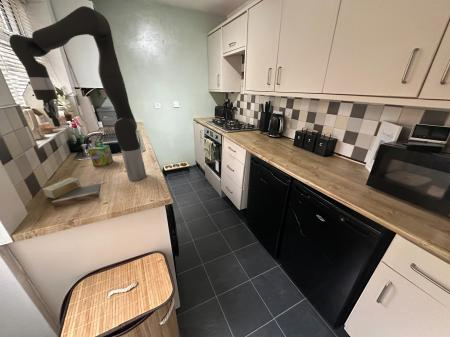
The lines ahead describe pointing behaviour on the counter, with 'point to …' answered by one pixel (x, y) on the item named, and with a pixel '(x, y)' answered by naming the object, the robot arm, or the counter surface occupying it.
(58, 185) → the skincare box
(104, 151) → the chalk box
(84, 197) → the rail
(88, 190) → the mat
